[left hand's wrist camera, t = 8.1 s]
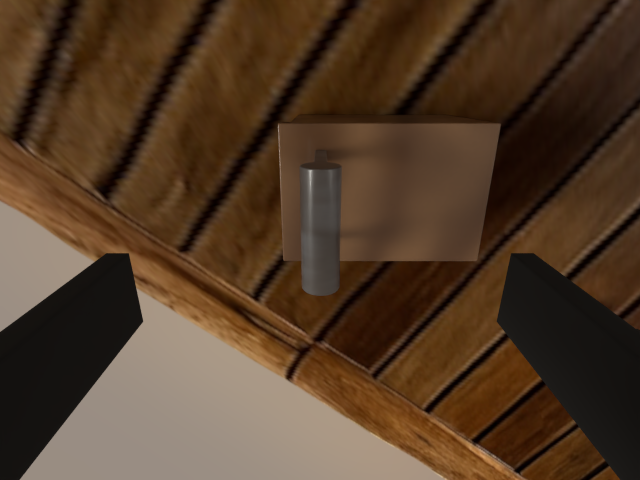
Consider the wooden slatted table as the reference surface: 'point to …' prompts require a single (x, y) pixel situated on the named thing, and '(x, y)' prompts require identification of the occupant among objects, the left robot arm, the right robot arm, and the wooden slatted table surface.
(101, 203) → the wooden slatted table surface
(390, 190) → the lid
